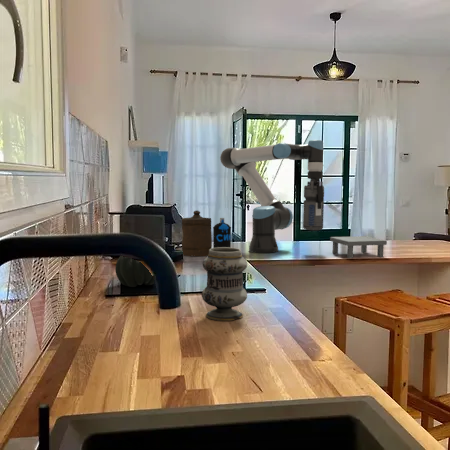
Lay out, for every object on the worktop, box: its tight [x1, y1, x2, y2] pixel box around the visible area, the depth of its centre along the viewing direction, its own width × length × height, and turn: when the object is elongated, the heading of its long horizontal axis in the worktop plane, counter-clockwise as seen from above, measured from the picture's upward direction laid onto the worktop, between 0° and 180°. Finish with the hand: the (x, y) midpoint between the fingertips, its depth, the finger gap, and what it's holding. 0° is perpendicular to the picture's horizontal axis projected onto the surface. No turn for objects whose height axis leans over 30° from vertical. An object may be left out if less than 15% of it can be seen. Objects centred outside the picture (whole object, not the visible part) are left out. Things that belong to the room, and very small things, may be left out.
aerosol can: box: [212, 217, 232, 248], centre depth 215 cm, size 8×8×20 cm
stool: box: [329, 235, 388, 259], centre depth 240 cm, size 20×20×8 cm
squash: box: [114, 255, 155, 288], centre depth 168 cm, size 14×15×15 cm
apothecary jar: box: [201, 247, 248, 322], centre depth 128 cm, size 12×12×18 cm
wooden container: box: [181, 210, 213, 257], centre depth 240 cm, size 15×15×22 cm
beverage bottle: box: [302, 181, 325, 232], centre depth 247 cm, size 10×13×25 cm
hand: (314, 214), depth 247 cm, fingers closed on beverage bottle, 10 cm apart
